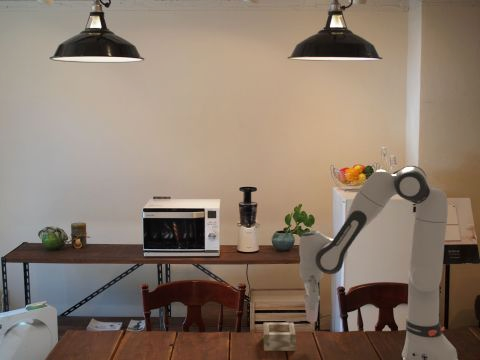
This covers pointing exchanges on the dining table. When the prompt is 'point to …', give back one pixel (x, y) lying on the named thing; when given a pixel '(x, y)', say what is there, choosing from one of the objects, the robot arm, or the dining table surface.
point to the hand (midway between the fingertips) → (311, 306)
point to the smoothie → (310, 314)
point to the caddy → (279, 337)
